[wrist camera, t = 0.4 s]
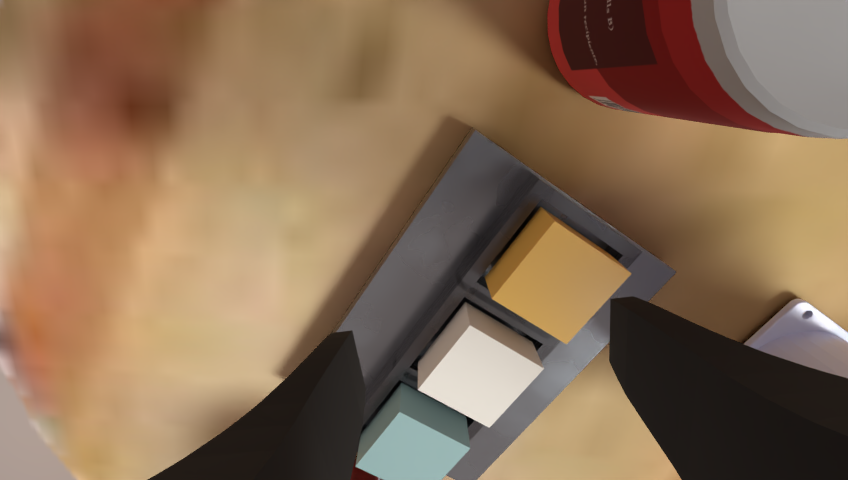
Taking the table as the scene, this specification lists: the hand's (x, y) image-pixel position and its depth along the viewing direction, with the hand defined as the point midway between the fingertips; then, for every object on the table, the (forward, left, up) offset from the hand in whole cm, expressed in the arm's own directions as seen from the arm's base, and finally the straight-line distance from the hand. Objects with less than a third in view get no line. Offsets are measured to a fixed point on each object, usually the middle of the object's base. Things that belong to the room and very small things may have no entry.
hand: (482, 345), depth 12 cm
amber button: (-4, -1, -7) cm, 8 cm away
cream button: (-4, +4, -7) cm, 9 cm away
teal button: (-4, +9, -7) cm, 13 cm away
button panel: (-4, +4, -10) cm, 11 cm away
